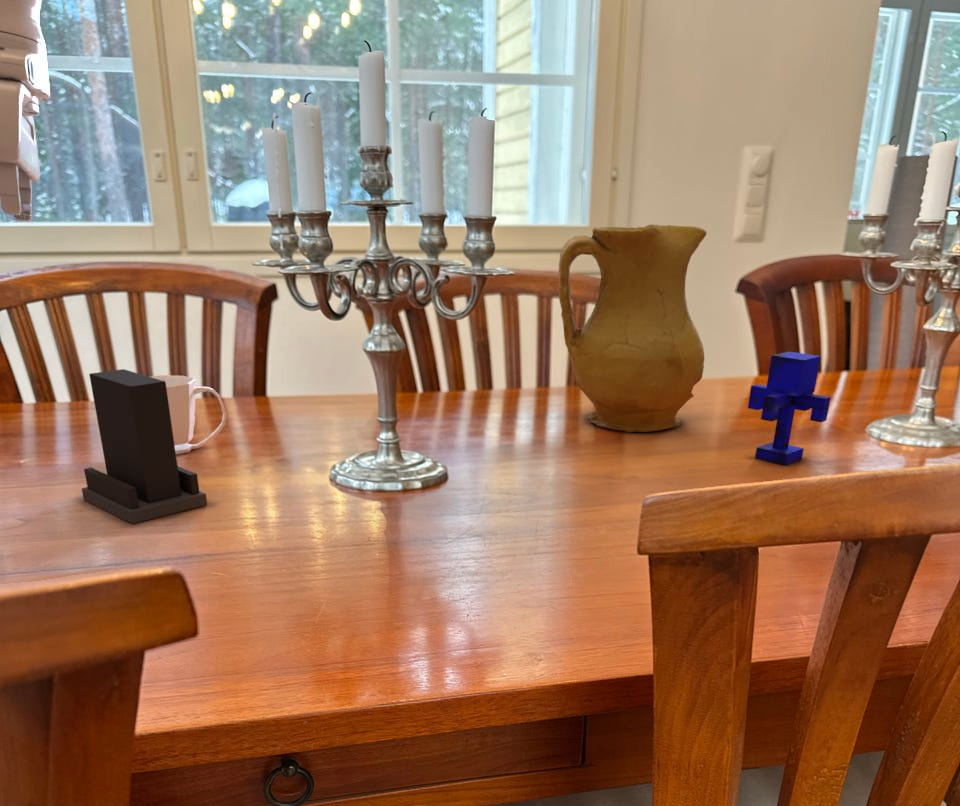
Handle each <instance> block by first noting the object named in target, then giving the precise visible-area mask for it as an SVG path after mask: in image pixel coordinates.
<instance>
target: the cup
mask: <svg viewBox="0 0 960 806" xmlns="http://www.w3.org/2000/svg"><path fill="white" fill-rule="evenodd" d="M151 377H152V378H155V379H159V380H162V381H165V382H166V389H167V396H168V403H169V410H170V417H171V424H172V431H173V439H174V446H175V453H176V455H181V454H185V453H189V452H191V450H195V449H199V448H202V447H203V446H205V445H206V444H208V443H209V442H210V441H212V440H213V439H214V438H215V437H216V436H217V435H218V434H220V432H221V431H222V430H223V428H224V427H225V425H226V421H227V412H226V407H225V404H224V402H223V399H222V396H220V394H219V393H218V392H216V390H215V389H214V388H211V387H209V386H200V385H199V386H197V385H196V382H197V380H196V379H195V378H192V377H189V376H185V375H169V374H168V375H167V374H165V375H164V374H161V375H160V374H159V375H154V376H153V375H152V376H151ZM205 392H209V393H212V394H213V395H214V396H215V397H216V398H217V399H218V402H219V404H220V407H221V411H222V418H221V422H220V424H219V425H218V426H217V428H215V430H214V431H212V432H211V433H210V434H209V435H208V436H207V437H205V439H203V440H201V441H199V442H198V443H193V444H191V443H190V441H192V440H193V436H194V429H195V422H196V395H198V394H200V393H205Z"/></svg>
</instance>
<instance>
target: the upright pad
mask: <svg viewBox="0 0 960 806" xmlns="http://www.w3.org/2000/svg"><path fill="white" fill-rule="evenodd" d="M88 376H89V381H90V385H91V392H92V397H93V403H94V409H95V414H96V419H97V424H98V431H99V437H100V443H101V447H102V452H103V459H104V464H105V469H106V474H107V475H109V476H111V477H113V478H115V479H118V480H120V481H122V482H124V483H127V484H129V485H131V486H133V487H135V488H136V493H137V498H138V499H140V500H142V501H144V502H147V503H153V502H157V501H162V500H166V499H170V498H174V497H178V496H181V488H180V481H179V474H178V467H177V466H178V461H177V454H176V453H175V446H174V439H173V431H172V424H171V417H170V410H169V403H168V396H167V389H166V382H165V381H162V380H159V379H155V378H152V376H149V375H145V374H141V373H138V372H135V371H131V370H128V369H124V368H122V369H114V370H106V371H99V372H91V373H89V375H88Z"/></svg>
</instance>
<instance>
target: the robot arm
mask: <svg viewBox="0 0 960 806" xmlns="http://www.w3.org/2000/svg"><path fill="white" fill-rule="evenodd" d="M41 7H42V0H0V209H1V211H2V212H3V213H5V214H6V215H12V216H13V217H14V218H15V220H17V221H18V222H27V223H28V222H29V223H30V222H32V220H33V209H32V199H33V186H32V182H33V183H35V182H40V178H41V168H40V159H39V149H38V141H37V132H36V125H35V120H34V117H36V116H39V115H40V107H39V102H45V101H48V100H50V99H51V89H50V87H51V86H50V79H49V78H50V77H49V68H48V66H49V65H48V57H47V56H48V55H47V45H46V42H45V38H44V35H43V32H42V29H41V24H40V13H41Z"/></svg>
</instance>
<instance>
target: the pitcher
mask: <svg viewBox="0 0 960 806" xmlns="http://www.w3.org/2000/svg"><path fill="white" fill-rule="evenodd" d="M591 230H592V236H591V237H590V236H588V235H576V236H573V237H571V238H569V239H568V240H567V241H566V242H565V243H564V245H563V246H562V248H561V251H560V254H559V262H558V276H559V277H558V279H559V280H558V281H559V282H558V285H559V286H558V299H559V300H558V301H559V304H560V308H561V313H560V315H561V320H562V327H563V339H564V345H565V347H566V348H567V352H568V354H569V358H570V361H571V365H572V366H571V367H572V368H573V369H572V370H573V373H574V380H575V384H576V386H577V387H578V389H580V391H581V392H582V393H583V394H584V395H585V396H586V397H587V399H588V400H589V401H590V402H591V403H592V405H594V408H595V410H596V411H594V412H592V413H590V414H589V416H588V417H587V419H589V423H590V424H591V423H592V424H593V425H596V426H598V427H601V428H606V429H610V430H616V431H624V432H626V433H633V432H642V433H649V432H655V431H656V432H657V431H663V430H668V429H674V428H675V427H677V428H678V426H680V424H681V421H680V419H678V418H676V416H677V414H678V412H679V411H680V410H681V409H682V408H683V407H684V406H685V404H686V403H688V402H689V401H690V400H691V399H692V398H694V394H693V393H692V392H693V388H694V387H695V385H697V384H698V383H699V382H700V381H701V380H702V378H703V373H704V368H705V363H704V362H705V351H704V345H703V342H702V340H701V338H700V335H699V332H698V330H697V328H696V326H695V324H694V322H693V320H692V317H691V315H690V313H689V309H688V304H687V303H688V302H687V297H686V277H687V272H688V267H689V263H690V261H691V259H692V256H693V254H695V252H696V251H697V249H698V247H699V246H700V244H701V242H702V241H703V240H704V239H705V237H706V236H707V231H706V230H705V229H704V228H701V227H698V226H690V225H689V226H686V225H672V224H669V225H667V224H666V225H661V224H653V223H652V224H647V225H645V226H636V227H628V226H627V227H626V226H624V227H623V226H621V227H620V226H604V227H603V226H602V227H601V226H600V227H596V226H594V227H592V229H591ZM581 255H588V256H592V257H593V258H594V259H595V261H596V263H597V266H598V268H599V272H600V279H599V280H600V281H599V288H598V292H597V297H596V301H595V304H594V307H593V310H592V312H591V314H590V316H589V317H588V319H587V321H586V322H585V324H584V325H583V326H582V327H581V328H577V327H576V323H575V318H574V312H573V306H572V294H571V288H570V287H571V286H570V272H571V266H572V263H574V261H575V260H576V259H577V257H579V256H581Z"/></svg>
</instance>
